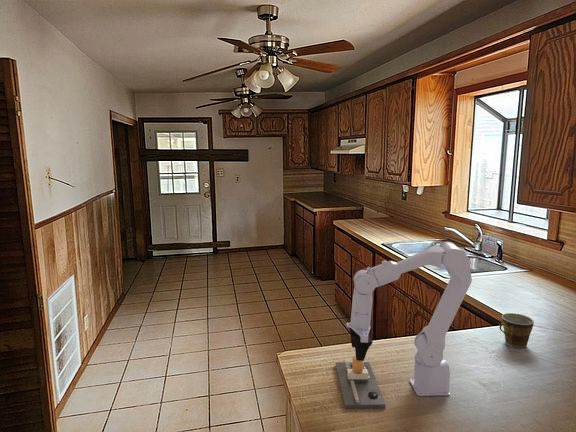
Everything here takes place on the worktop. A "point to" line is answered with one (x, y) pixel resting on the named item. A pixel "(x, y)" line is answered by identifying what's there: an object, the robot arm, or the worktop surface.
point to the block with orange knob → (357, 370)
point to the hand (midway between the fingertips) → (357, 353)
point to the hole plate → (359, 388)
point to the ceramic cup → (516, 329)
